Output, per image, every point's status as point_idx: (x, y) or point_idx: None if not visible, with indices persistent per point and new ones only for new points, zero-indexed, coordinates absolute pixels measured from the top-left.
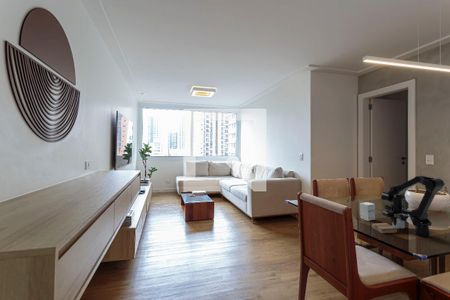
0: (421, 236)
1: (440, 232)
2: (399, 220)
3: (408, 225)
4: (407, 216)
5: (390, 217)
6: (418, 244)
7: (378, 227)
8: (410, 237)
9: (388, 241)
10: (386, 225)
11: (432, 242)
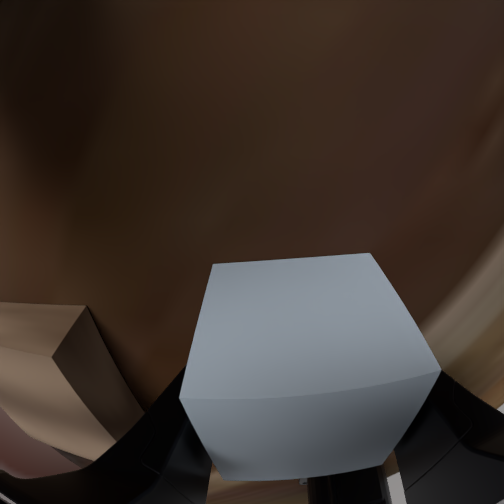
0: (300, 482)
1: (498, 400)
2: (315, 459)
3: (491, 256)
4: None
5: (93, 477)
6: (206, 500)
7: (5, 407)
8: (219, 477)
9: (79, 462)
10: (57, 417)
11: (296, 497)
